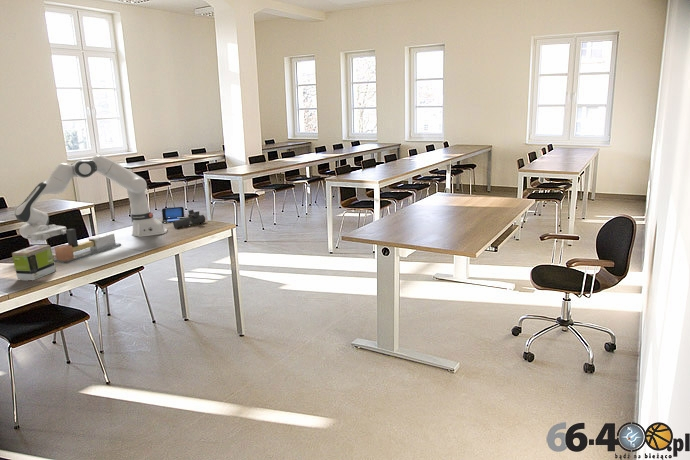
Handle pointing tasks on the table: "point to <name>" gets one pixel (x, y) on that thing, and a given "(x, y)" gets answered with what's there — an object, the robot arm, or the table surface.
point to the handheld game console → (172, 214)
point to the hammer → (73, 241)
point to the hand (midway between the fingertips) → (57, 234)
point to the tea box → (33, 262)
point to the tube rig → (101, 244)
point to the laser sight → (189, 219)
